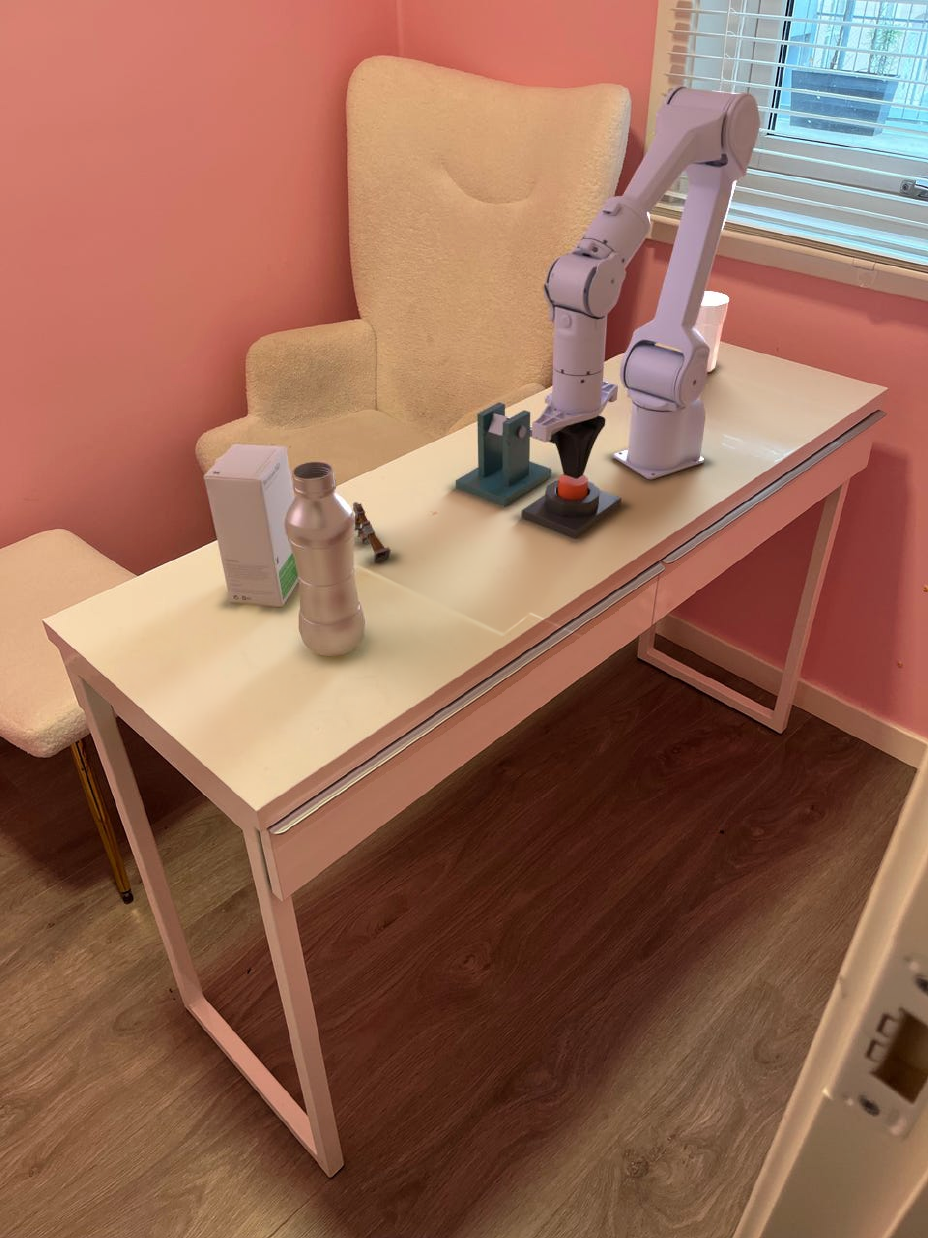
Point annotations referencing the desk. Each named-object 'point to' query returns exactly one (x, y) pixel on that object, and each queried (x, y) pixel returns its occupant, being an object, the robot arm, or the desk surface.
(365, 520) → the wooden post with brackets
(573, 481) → the button
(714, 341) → the cup
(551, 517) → the control block
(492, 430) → the lever
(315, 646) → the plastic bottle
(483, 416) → the bracket
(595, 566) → the desk surface
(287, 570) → the cosmetic box
